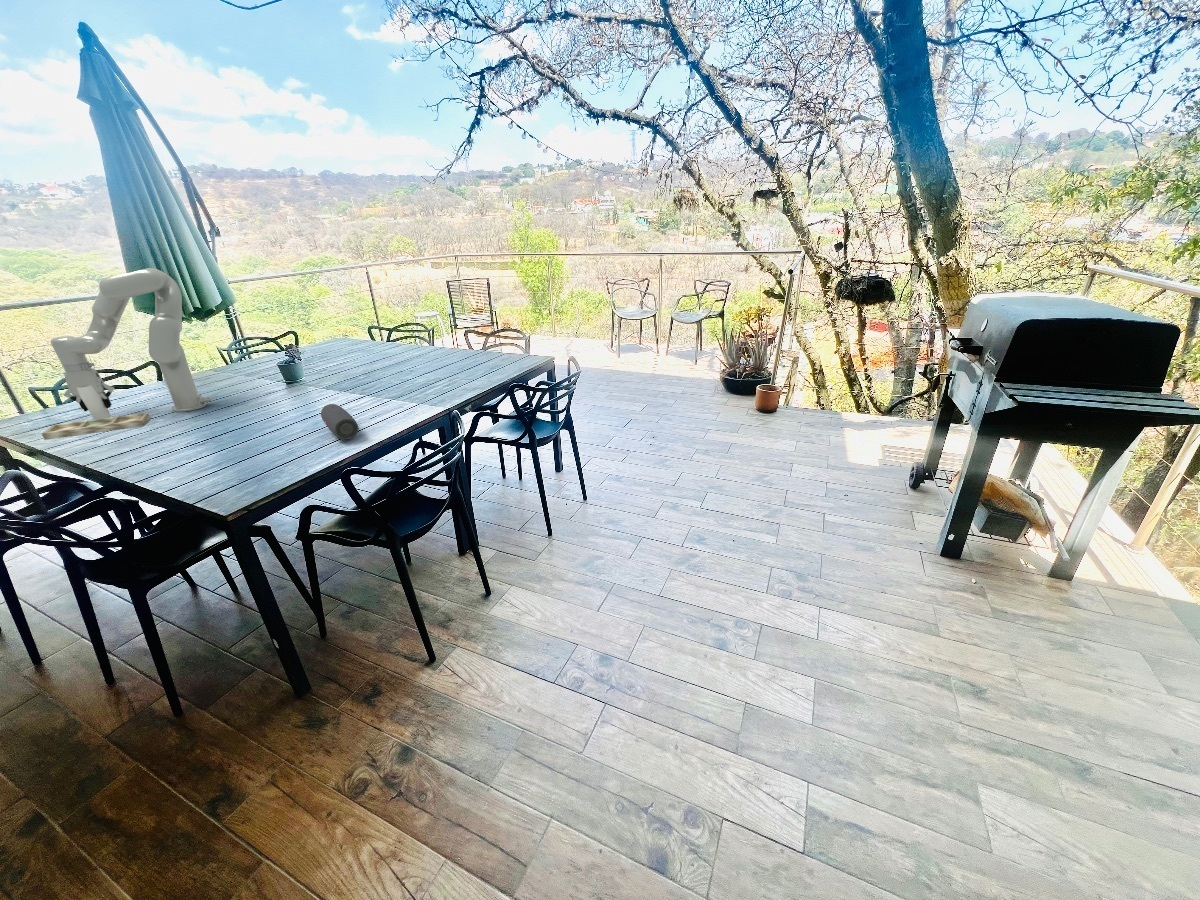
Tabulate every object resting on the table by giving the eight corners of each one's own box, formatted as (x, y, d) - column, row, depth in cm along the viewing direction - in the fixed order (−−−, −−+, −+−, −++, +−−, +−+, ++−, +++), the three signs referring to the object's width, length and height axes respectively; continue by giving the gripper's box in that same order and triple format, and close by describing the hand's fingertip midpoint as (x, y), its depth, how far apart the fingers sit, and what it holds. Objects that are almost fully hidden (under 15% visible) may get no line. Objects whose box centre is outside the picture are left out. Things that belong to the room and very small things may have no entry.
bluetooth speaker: (322, 428, 195) (316, 405, 191) (346, 422, 200) (341, 400, 196) (336, 445, 179) (330, 420, 175) (362, 439, 185) (357, 414, 180)
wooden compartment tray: (150, 418, 207) (148, 412, 206) (143, 425, 198) (141, 420, 197) (56, 430, 194) (53, 424, 193) (44, 439, 185) (41, 433, 184)
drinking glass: (100, 422, 201) (83, 387, 194) (87, 421, 202) (70, 387, 196) (117, 416, 207) (101, 383, 200) (105, 415, 208) (89, 382, 202)
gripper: (108, 362, 201) (127, 402, 209) (52, 368, 194) (74, 410, 202) (102, 366, 195) (121, 407, 203) (44, 372, 188) (66, 415, 196)
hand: (97, 408), depth 202 cm, fingers closed on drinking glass, 6 cm apart
